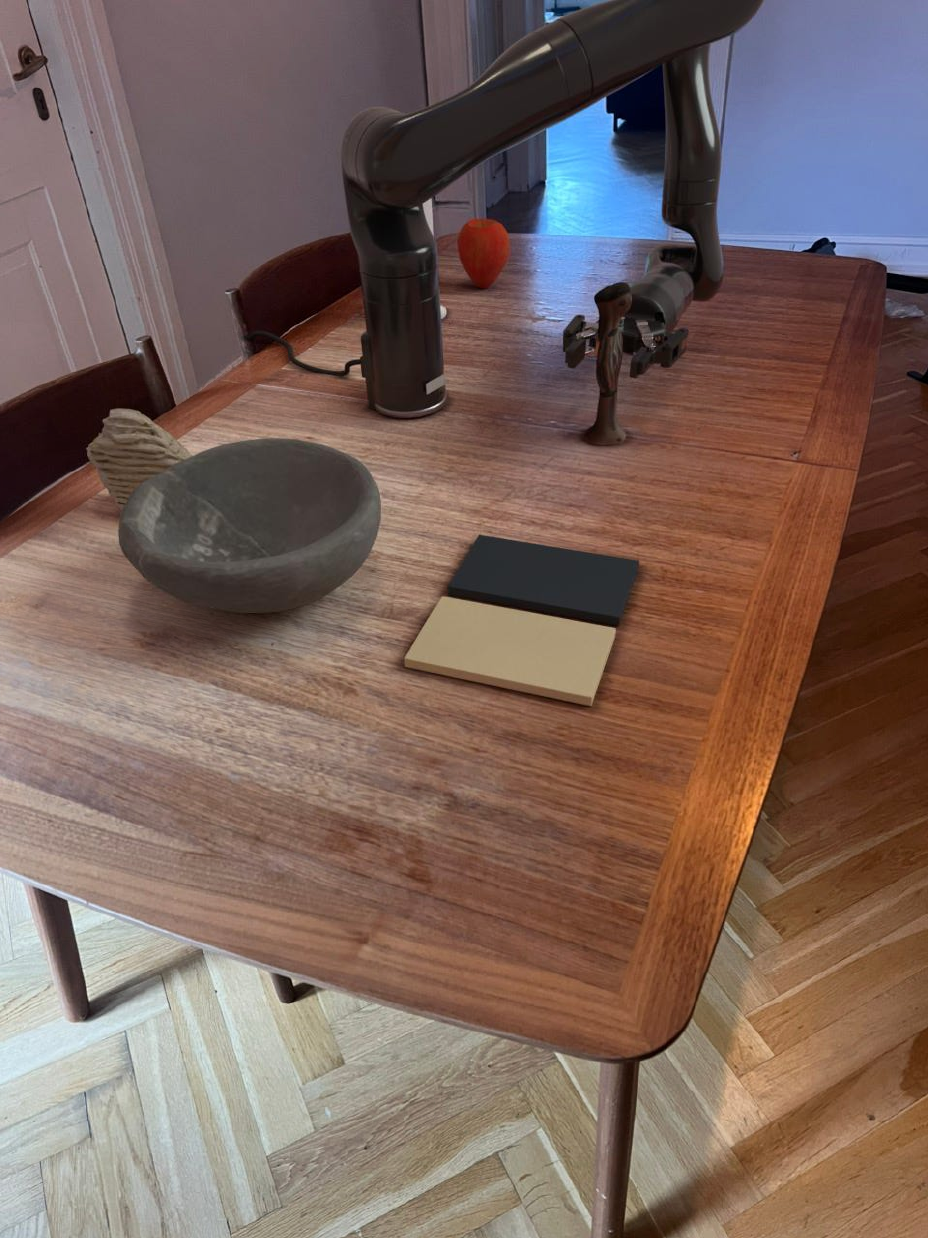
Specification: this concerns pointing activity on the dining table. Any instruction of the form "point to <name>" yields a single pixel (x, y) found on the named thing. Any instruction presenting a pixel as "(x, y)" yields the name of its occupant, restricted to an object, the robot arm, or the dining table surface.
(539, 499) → the dining table surface
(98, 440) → the fossil tooth
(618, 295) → the figurine
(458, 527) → the dining table surface
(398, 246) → the robot arm
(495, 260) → the apple
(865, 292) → the dining table surface
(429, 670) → the cream mat
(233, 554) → the bowl
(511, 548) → the dark mat
